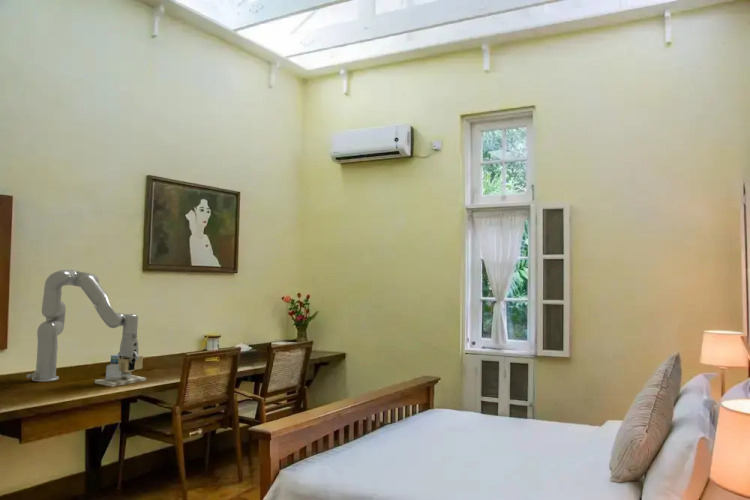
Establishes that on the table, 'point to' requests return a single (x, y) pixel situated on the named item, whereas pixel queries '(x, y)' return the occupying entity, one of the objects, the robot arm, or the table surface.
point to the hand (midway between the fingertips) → (127, 368)
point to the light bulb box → (114, 359)
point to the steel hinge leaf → (116, 373)
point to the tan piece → (126, 361)
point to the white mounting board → (121, 381)
